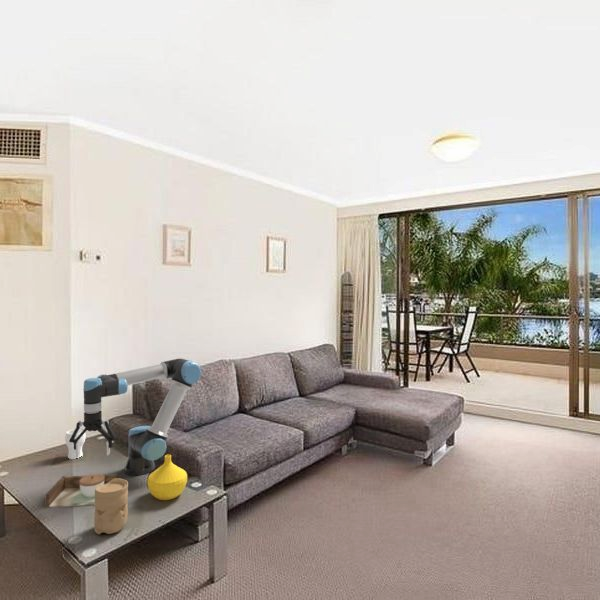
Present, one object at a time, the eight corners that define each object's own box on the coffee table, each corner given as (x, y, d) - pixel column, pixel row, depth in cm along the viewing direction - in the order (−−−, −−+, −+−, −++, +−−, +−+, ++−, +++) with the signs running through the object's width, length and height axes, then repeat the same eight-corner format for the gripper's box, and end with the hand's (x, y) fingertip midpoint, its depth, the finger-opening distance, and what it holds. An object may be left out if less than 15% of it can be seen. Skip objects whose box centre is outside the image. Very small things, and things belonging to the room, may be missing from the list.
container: (87, 532, 169) (87, 488, 169) (111, 517, 181) (111, 476, 181) (111, 540, 165) (111, 494, 164) (134, 523, 177) (134, 481, 176)
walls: (118, 486, 210) (118, 474, 209) (106, 504, 192) (106, 491, 192) (62, 488, 206) (62, 476, 206) (45, 507, 188) (45, 494, 188)
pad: (112, 487, 206) (112, 487, 206) (102, 502, 192) (102, 501, 192) (81, 489, 204) (81, 488, 204) (70, 503, 190) (70, 503, 190)
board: (118, 486, 210) (118, 484, 209) (106, 504, 192) (106, 503, 192) (62, 488, 206) (62, 487, 206) (45, 507, 188) (45, 506, 188)
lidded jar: (74, 496, 197) (74, 476, 196) (96, 487, 206) (96, 468, 206) (87, 502, 191) (87, 482, 191) (109, 493, 200) (109, 473, 200)
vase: (146, 490, 206) (146, 451, 206) (184, 483, 213) (184, 446, 213) (148, 508, 189) (148, 466, 189) (189, 500, 196) (190, 460, 196)
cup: (73, 452, 250) (73, 427, 250) (89, 453, 249) (89, 428, 249) (60, 459, 240) (60, 433, 239) (77, 461, 238) (77, 435, 238)
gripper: (122, 407, 205) (122, 450, 205) (67, 409, 201) (68, 453, 201) (118, 412, 197) (118, 456, 198) (61, 414, 193) (61, 460, 194)
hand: (93, 455), depth 200 cm, fingers open, 13 cm apart
